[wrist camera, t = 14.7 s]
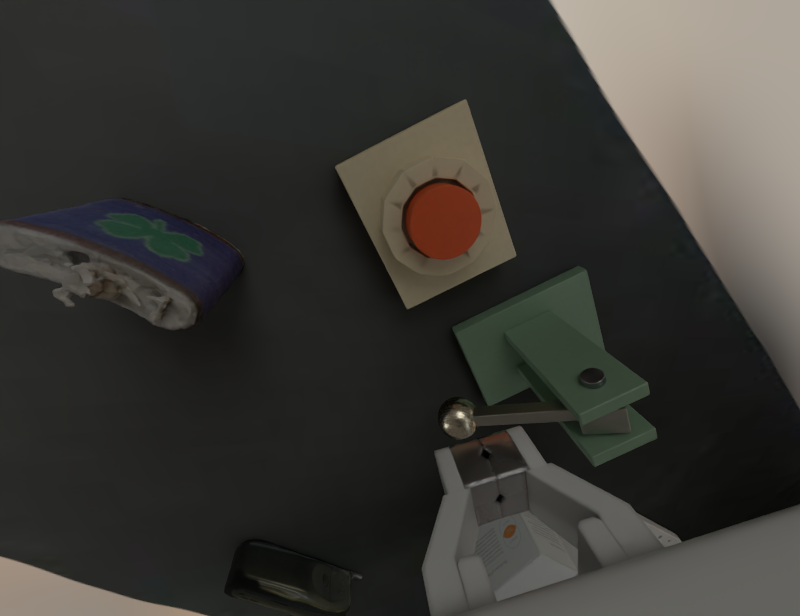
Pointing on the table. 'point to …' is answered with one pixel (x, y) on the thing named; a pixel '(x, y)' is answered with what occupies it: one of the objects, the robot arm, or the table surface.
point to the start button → (443, 220)
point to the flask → (125, 258)
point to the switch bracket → (556, 361)
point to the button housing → (403, 178)
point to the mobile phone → (288, 581)
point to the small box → (522, 555)
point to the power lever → (520, 417)
